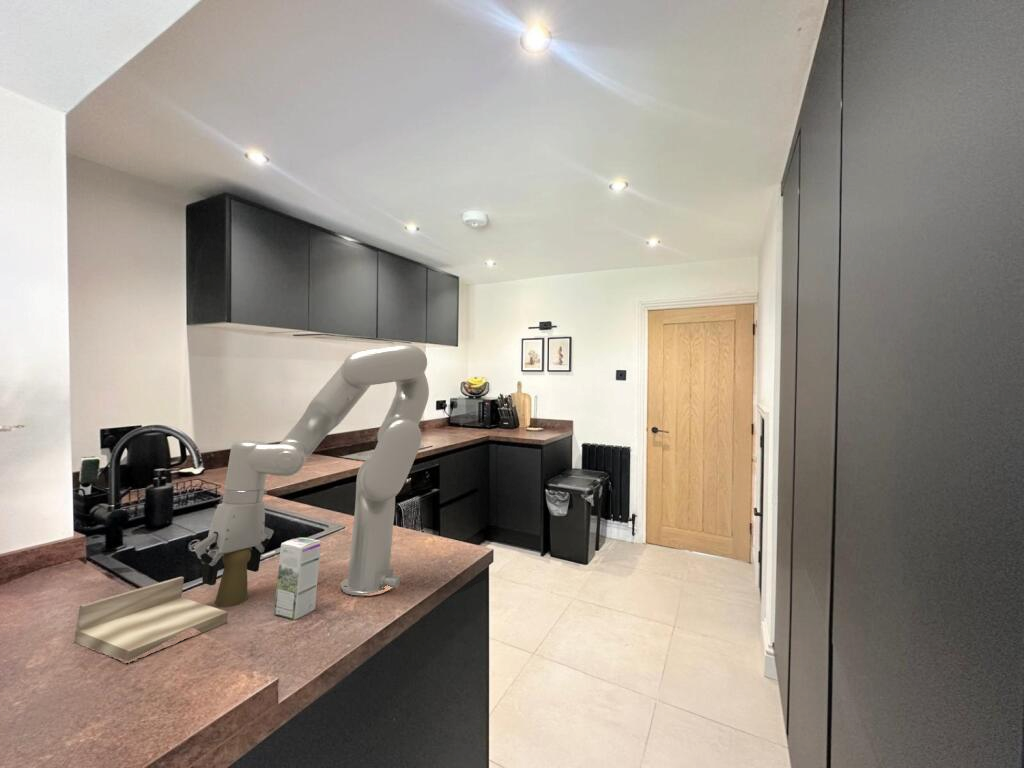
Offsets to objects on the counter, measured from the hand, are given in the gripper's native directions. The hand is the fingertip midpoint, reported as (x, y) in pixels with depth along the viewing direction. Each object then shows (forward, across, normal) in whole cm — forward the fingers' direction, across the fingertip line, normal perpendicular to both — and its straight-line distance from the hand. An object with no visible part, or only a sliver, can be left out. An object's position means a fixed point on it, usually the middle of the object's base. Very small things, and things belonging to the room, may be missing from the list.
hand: (231, 576), depth 90 cm
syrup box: (+5, -2, +16) cm, 17 cm away
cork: (+5, 0, 0) cm, 5 cm away
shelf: (+5, +14, +2) cm, 15 cm away
